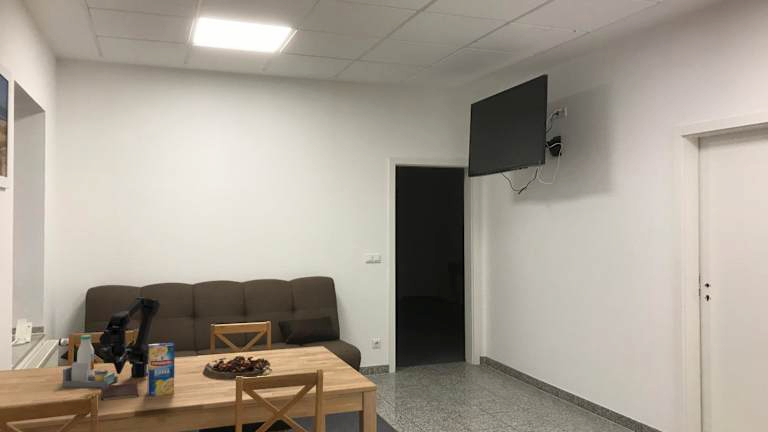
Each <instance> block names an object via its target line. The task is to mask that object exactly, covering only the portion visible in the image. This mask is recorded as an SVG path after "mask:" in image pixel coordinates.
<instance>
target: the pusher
mask: <svg viewBox="0 0 768 432" xmlns="http://www.w3.org/2000/svg"><path fill="white" fill-rule="evenodd" d="M114 376H115V372H114V371H113V372H111V373H109V374H108V375H106V376H104V381H108V385H112V383H115V382H114Z"/></svg>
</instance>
